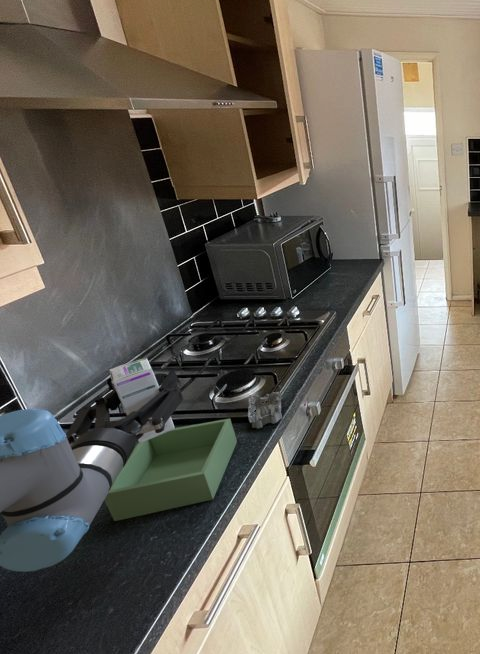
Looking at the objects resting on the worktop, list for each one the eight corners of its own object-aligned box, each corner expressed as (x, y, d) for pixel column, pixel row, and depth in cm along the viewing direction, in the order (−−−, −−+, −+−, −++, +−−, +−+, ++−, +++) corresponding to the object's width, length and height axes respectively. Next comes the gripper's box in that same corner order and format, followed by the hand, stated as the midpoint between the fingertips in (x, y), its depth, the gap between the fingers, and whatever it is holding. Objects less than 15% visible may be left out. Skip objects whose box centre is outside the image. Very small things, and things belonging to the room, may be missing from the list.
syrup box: (175, 428, 83) (153, 367, 78) (137, 444, 79) (111, 381, 74) (169, 415, 87) (148, 355, 82) (132, 430, 83) (107, 368, 77)
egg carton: (251, 406, 111) (248, 394, 110) (283, 398, 114) (280, 386, 113) (249, 432, 102) (245, 418, 101) (283, 422, 106) (280, 409, 104)
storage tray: (114, 521, 80) (101, 494, 78) (154, 457, 95) (145, 433, 92) (213, 499, 85) (204, 473, 82) (237, 441, 99) (230, 418, 97)
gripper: (17, 501, 62) (94, 407, 82) (179, 462, 69) (213, 384, 89) (-6, 463, 59) (79, 375, 79) (165, 426, 66) (204, 354, 86)
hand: (150, 380), depth 84 cm, fingers closed on syrup box, 7 cm apart
